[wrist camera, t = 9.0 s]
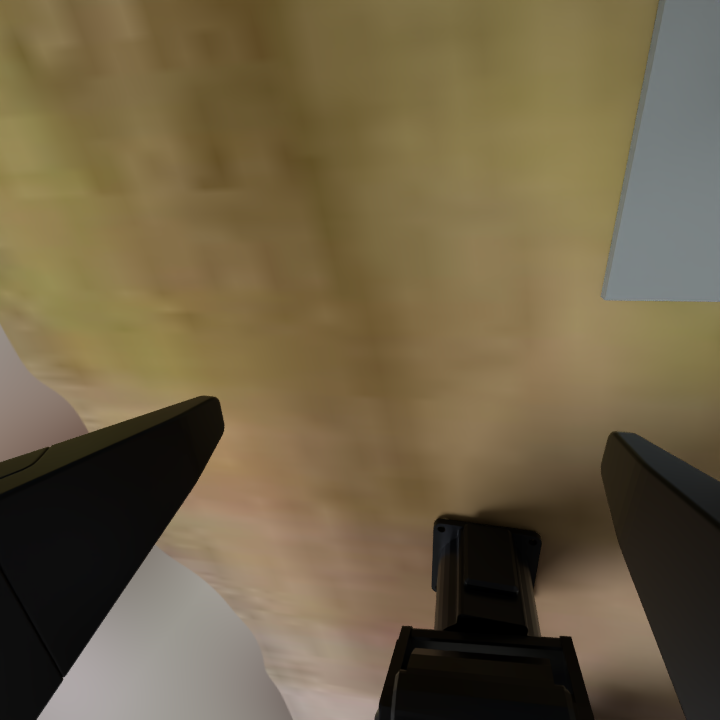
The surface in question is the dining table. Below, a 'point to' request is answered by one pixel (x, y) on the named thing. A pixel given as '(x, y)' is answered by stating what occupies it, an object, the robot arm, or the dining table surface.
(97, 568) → the robot arm
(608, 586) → the dining table surface
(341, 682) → the dining table surface
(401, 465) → the dining table surface
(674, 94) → the build plate
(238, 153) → the dining table surface
